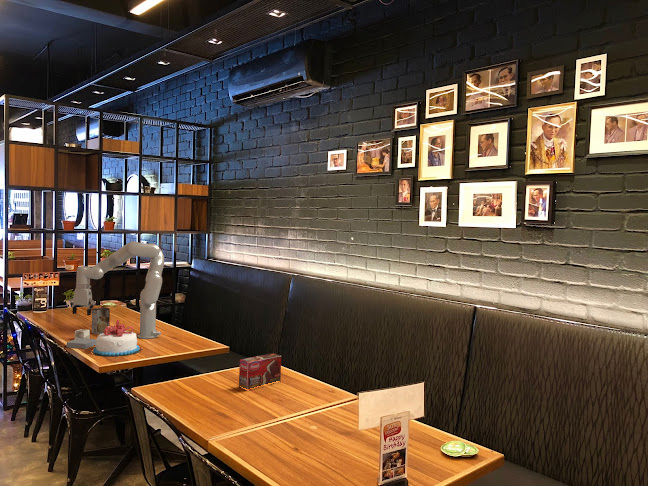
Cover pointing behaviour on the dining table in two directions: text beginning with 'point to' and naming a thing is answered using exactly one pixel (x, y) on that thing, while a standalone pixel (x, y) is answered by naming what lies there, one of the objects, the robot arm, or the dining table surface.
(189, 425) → the dining table surface
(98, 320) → the coffee box
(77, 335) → the cube
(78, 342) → the stand
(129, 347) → the wedding cake
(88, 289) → the robot arm
